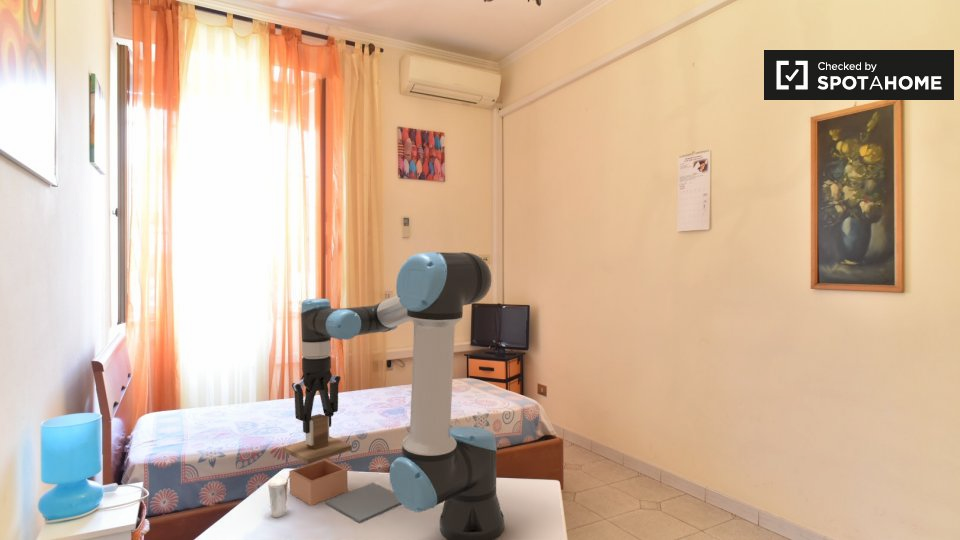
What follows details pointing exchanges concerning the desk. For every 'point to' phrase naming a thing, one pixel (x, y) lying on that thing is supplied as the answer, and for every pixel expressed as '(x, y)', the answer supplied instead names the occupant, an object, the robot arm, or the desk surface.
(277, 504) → the milkshake
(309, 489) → the open peach box
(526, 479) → the desk surface
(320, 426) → the lid
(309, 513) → the desk surface
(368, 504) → the mat
